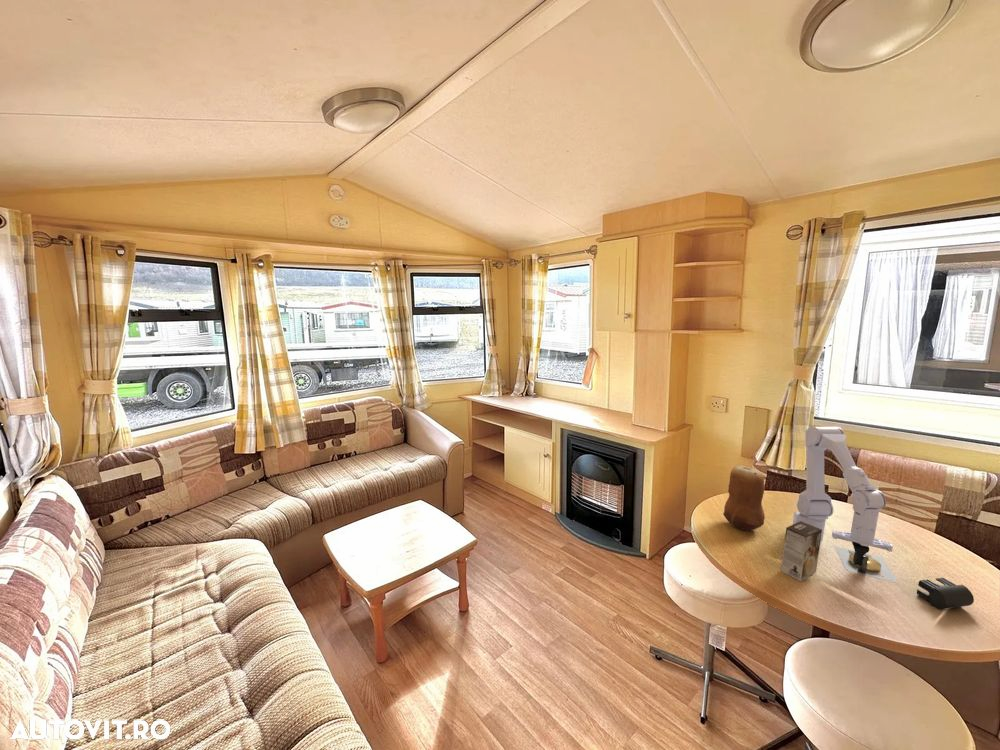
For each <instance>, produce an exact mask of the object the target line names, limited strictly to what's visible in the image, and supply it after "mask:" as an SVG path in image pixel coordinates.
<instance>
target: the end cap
mask: <svg viewBox="0 0 1000 750" xmlns="http://www.w3.org/2000/svg"><path fill="white" fill-rule="evenodd" d="M935 580H936V581H937V582H939V583H940V584H942V585H940V584H937V583H935V582H933V581H932V580H930V579H921V580H919V581H918V583H917V586H918V587H920V588H921V589H923V590H925V591H926V592H924V591H923V590H920V589H919V588H918V589H916V595H918V596H920V597H921V598H923V599H925V600H926V601H928V602H929V603H930V606H932V607H933V608H935V609H937V610H945V609H954V608H960V607H961V608H962V607H968V606H971V605H973V604H974V601H975V599H974V595H973V593H972V592H971V591H970V589H969V588H968V587H967V586H966V585H963V584H955V583H954V582H952V581H950V580H949V579H946V578H945V577H938V578H935Z"/></svg>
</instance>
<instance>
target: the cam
mask: <svg viewBox="0 0 1000 750" xmlns="http://www.w3.org/2000/svg"><path fill="white" fill-rule="evenodd" d="M853 557H854V553H852V554H850V555H849V561H850V563H852V564H853V565H854V566H856V567H858V571H859V572H861V573H866V571H870V572H879V571H880V570H881V564H880V563H879V562H878V561H877V560H875V559H873V558H871V557H869V556H866V555H864V556H863V557H862V562H861V566H859V565H855V564H854V562H853Z"/></svg>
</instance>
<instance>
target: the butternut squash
mask: <svg viewBox="0 0 1000 750" xmlns="http://www.w3.org/2000/svg"><path fill="white" fill-rule="evenodd" d="M727 489H728V490H727V491H728V494H729V495H728V498H727V500H726V501H725V504H724V509H723V514H722V515H723V517H724V518H725V519H726V521H727V522H728V523H729V524H730V525H732V526H733V527H735V528H737V529H741V530H743V531H753V530H754V531H755V530H757V529H759V528H761V527H762V526H763V525H764V524H765V519H766V517H765V516H766V515H765V511H764V509H763V504H762V502H763V501H762V500H763V497H764V492H765V478H764V475H763V473H762V472H761V471H760V470H758V469H756V468H752V467H748V466H745V465H735V466H734V467H733V468H732V470H731V471H730V473H729V483H728V488H727Z"/></svg>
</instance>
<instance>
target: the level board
mask: <svg viewBox="0 0 1000 750" xmlns="http://www.w3.org/2000/svg"><path fill="white" fill-rule="evenodd" d="M835 549H836V551H837V554H838V556H839V558H840V561H841V563H842V565H843V568H844V570H845V571H848V572H852V573H855V574H860V575H863V576H868V577H871V578H875V579H880V580H884V581H888V582H891V583H895V584H899V582H898V580H897V578H896V577H895V574H894V573H893V572H892V570H891V568H890V567H889V565H888V563H887V562H886V560H885V558H884V557H883V556H880V555H874V554H870V553H866V554H865V555H866V556H869V557H871V558H873V559H875V560H877V561H878V562H879V563H880V564H881V570H880V571H879V572H870V571H866V573H861V572H859V571H858V567H856V566H854V565H853V564H852V563H850V561H849V555H850V554H852V553H855V550H852V549H848V548H844V547H839V546H835Z"/></svg>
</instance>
